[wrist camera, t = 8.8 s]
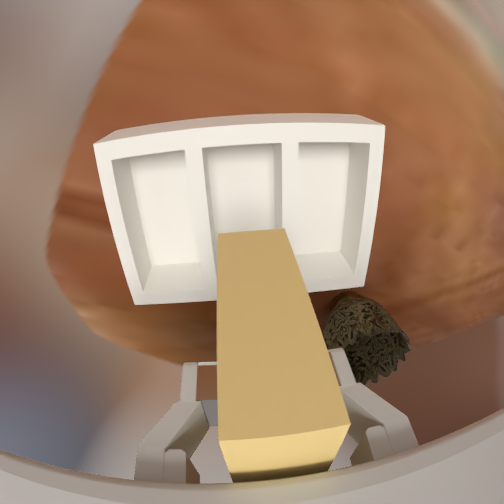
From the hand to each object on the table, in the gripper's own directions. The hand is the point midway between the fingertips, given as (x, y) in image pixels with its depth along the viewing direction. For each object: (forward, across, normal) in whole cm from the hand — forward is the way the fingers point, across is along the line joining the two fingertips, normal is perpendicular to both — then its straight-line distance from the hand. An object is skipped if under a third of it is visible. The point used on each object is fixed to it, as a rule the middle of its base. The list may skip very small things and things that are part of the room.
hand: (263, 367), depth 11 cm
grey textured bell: (+16, -10, +12) cm, 22 cm away
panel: (+4, 0, 0) cm, 4 cm away
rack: (+16, 0, 0) cm, 16 cm away
